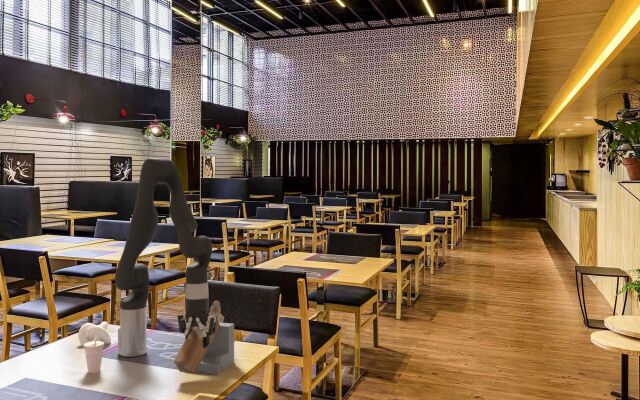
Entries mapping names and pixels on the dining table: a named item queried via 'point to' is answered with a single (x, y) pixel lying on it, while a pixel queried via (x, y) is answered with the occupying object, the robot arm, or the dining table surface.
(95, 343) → the smoothie
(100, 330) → the cream rounded lobed piece
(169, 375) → the dining table surface
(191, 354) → the rail
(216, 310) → the figurine
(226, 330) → the bracket
